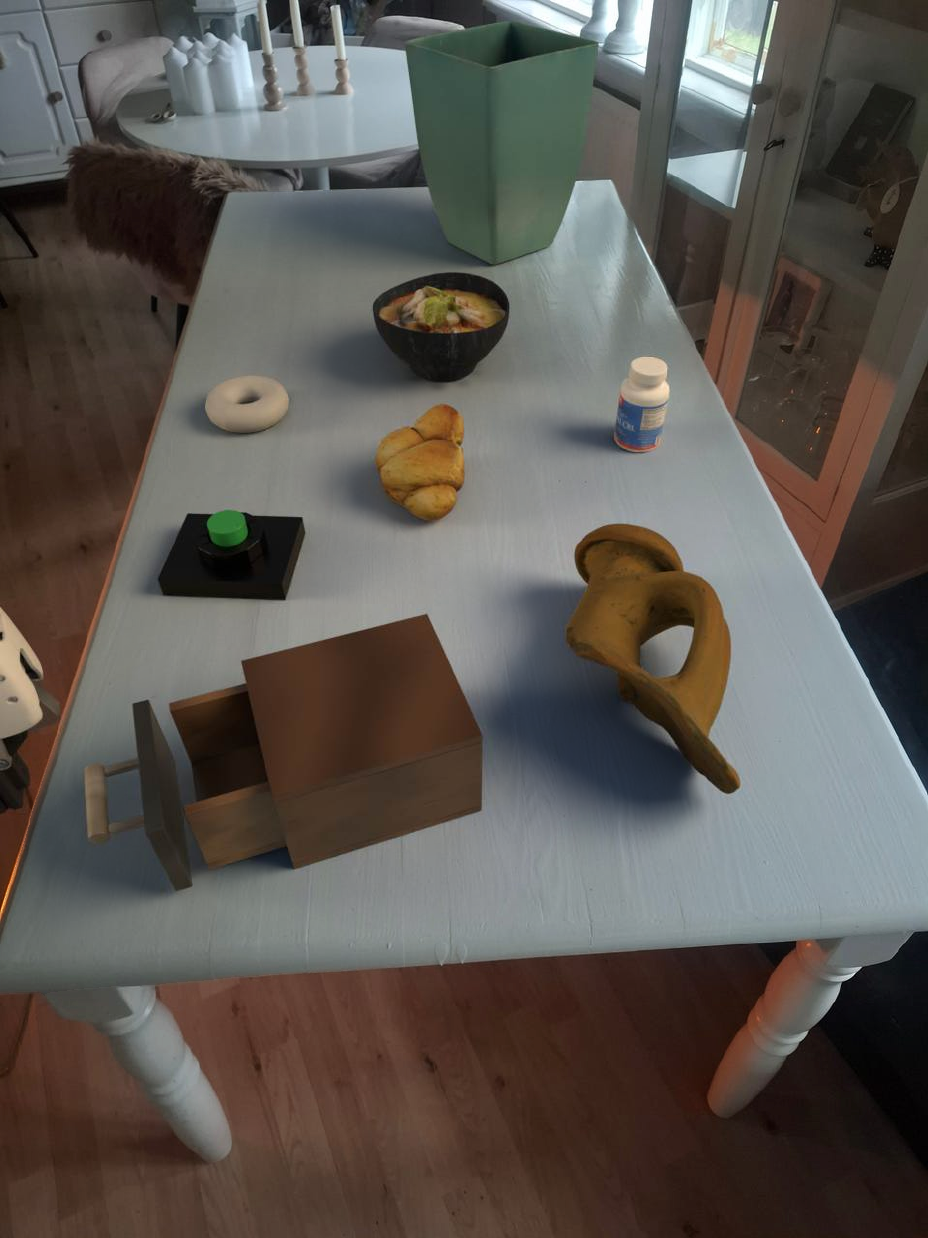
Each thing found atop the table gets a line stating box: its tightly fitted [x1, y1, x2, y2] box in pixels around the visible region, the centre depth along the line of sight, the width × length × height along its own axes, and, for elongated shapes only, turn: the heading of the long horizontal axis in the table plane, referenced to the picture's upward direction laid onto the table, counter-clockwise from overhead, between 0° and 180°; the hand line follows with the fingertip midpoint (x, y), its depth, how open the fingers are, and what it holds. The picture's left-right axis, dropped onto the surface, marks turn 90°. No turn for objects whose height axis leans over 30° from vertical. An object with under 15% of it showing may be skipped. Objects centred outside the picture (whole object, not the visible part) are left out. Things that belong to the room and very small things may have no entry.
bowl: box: [372, 271, 511, 383], centre depth 110 cm, size 17×17×10 cm
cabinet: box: [240, 613, 483, 870], centre depth 65 cm, size 15×13×10 cm
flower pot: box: [404, 20, 600, 266], centre depth 131 cm, size 20×20×28 cm
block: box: [156, 511, 306, 601], centre depth 85 cm, size 12×10×4 cm
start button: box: [207, 509, 248, 547], centre depth 83 cm, size 4×4×2 cm
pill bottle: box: [613, 356, 670, 453], centre depth 97 cm, size 6×5×10 cm
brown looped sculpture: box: [564, 523, 741, 795], centre depth 70 cm, size 18×13×22 cm
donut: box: [204, 374, 290, 434], centre depth 104 cm, size 10×4×10 cm
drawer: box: [83, 682, 287, 892], centre depth 63 cm, size 18×11×8 cm, turn 109°
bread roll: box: [374, 403, 465, 522], centre depth 91 cm, size 13×10×8 cm
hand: (10, 793), depth 57 cm, fingers closed
